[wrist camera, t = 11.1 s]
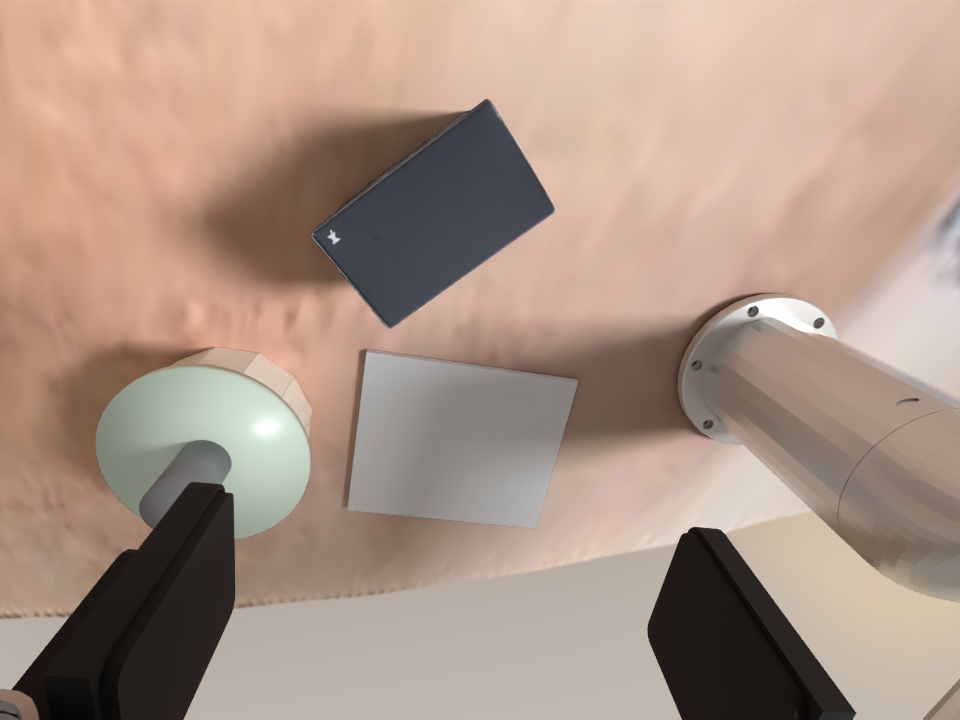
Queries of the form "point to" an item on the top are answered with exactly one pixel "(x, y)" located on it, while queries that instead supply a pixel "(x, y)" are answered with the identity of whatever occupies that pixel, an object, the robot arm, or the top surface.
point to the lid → (204, 444)
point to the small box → (435, 215)
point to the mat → (456, 440)
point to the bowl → (258, 376)
